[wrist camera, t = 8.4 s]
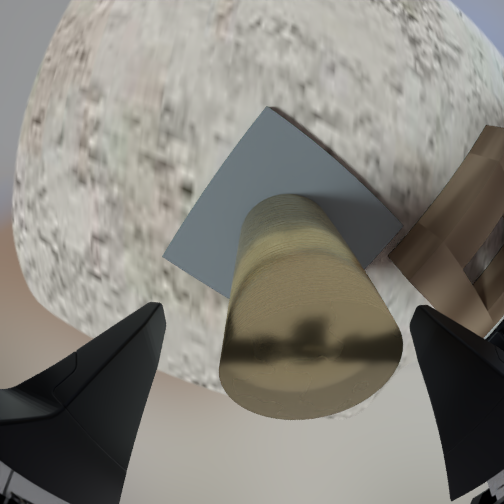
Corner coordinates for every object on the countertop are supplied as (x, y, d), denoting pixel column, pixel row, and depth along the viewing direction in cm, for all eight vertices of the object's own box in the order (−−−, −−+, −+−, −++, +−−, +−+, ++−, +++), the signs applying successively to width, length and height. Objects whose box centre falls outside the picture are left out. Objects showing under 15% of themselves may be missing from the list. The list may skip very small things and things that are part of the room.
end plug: (349, 231, 14) (430, 349, 6) (292, 293, 16) (313, 430, 8) (278, 174, 13) (311, 257, 5) (222, 247, 15) (185, 384, 7)
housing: (531, 231, 14) (551, 244, 11) (456, 328, 18) (471, 350, 16) (486, 125, 11) (516, 130, 8) (388, 256, 15) (408, 280, 13)
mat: (399, 222, 14) (403, 225, 14) (293, 331, 18) (294, 336, 18) (266, 106, 12) (266, 105, 12) (164, 252, 16) (162, 256, 15)
